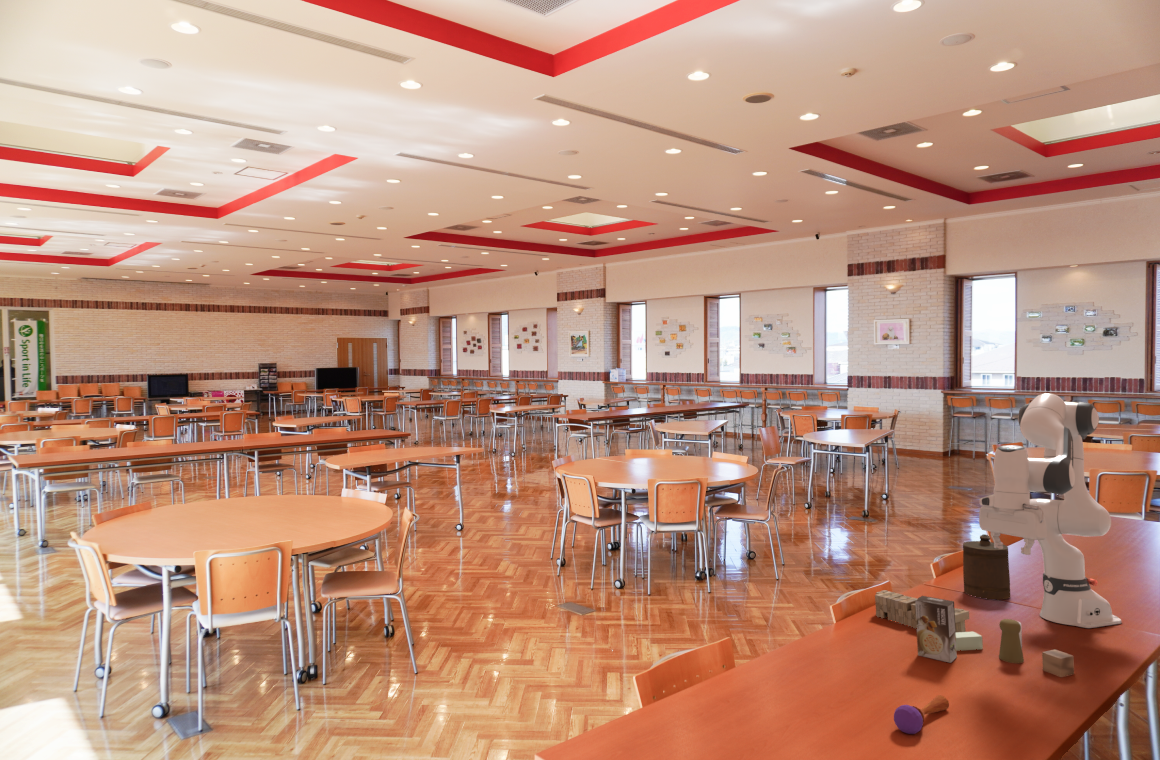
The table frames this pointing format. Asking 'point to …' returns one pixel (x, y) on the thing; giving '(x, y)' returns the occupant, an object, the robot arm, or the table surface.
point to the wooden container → (986, 569)
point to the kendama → (917, 714)
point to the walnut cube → (1058, 663)
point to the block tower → (908, 610)
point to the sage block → (968, 641)
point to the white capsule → (1020, 635)
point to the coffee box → (936, 628)
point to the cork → (1010, 641)
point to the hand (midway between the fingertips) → (1011, 551)
